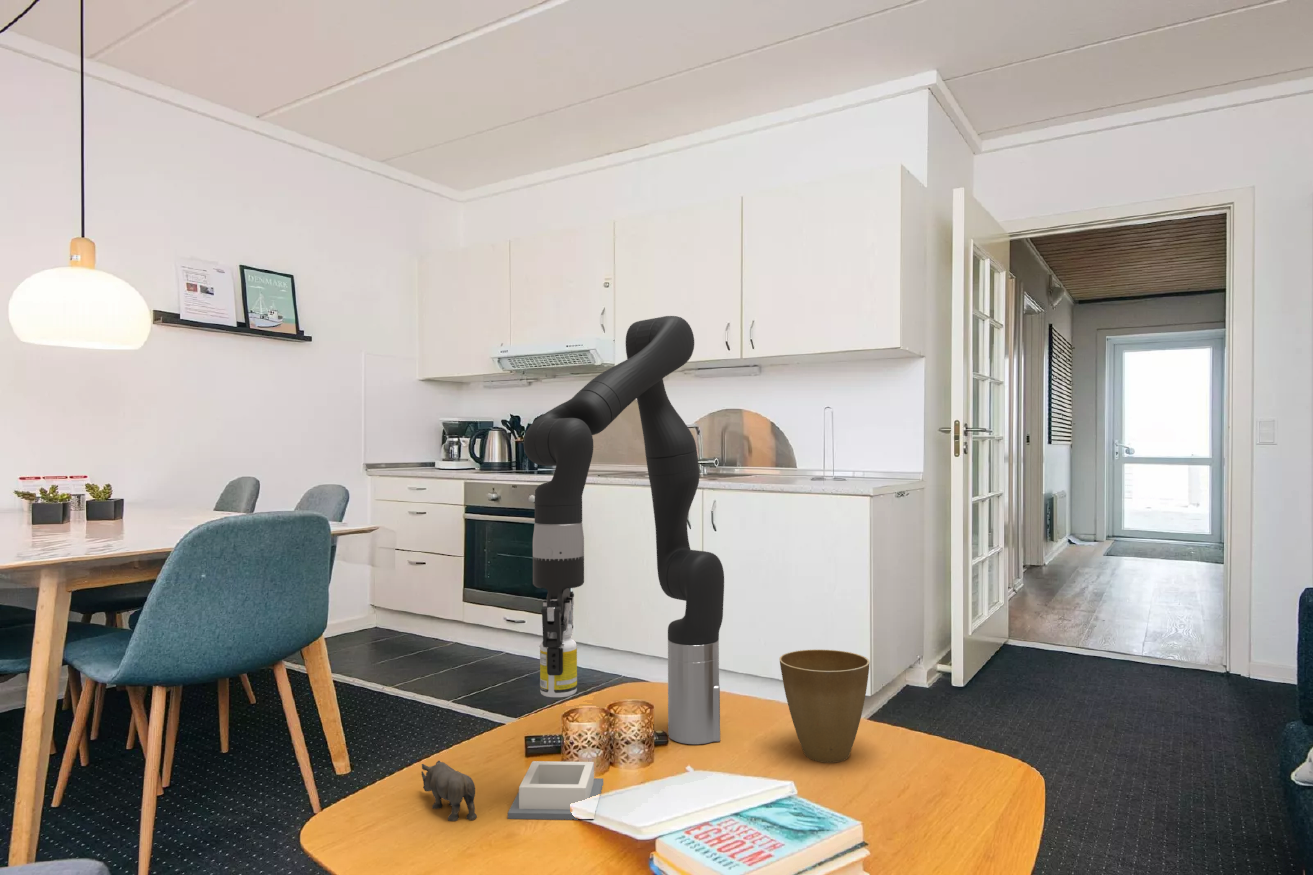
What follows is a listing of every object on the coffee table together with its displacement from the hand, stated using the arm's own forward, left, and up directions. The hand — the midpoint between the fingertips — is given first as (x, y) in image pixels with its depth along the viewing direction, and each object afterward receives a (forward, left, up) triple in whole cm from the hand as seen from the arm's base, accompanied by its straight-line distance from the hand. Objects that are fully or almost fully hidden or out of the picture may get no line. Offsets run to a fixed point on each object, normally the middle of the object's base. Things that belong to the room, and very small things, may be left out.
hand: (558, 668), depth 114 cm
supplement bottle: (0, 0, -4) cm, 4 cm away
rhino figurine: (+16, +2, -19) cm, 25 cm away
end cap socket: (0, 0, -19) cm, 19 cm away
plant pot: (-42, -19, -19) cm, 50 cm away
